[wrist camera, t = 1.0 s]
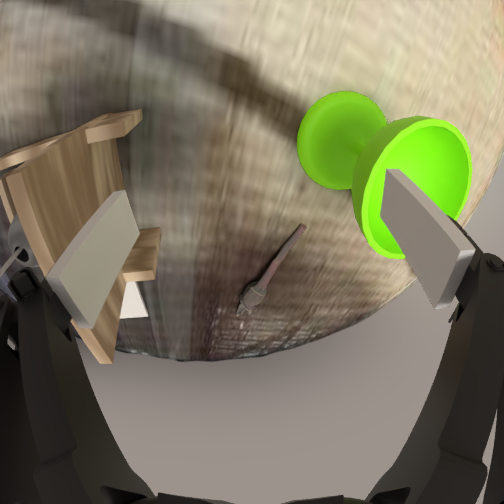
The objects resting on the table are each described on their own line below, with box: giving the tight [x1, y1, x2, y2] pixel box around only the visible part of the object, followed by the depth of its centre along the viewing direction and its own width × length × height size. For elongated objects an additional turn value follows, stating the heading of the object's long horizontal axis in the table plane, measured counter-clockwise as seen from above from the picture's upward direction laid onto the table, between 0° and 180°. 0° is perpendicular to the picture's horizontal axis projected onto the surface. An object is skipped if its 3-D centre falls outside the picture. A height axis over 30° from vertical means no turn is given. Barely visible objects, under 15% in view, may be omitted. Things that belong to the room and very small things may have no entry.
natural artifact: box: [237, 224, 306, 316], centre depth 49 cm, size 4×23×4 cm
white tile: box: [120, 281, 148, 318], centre depth 45 cm, size 14×14×1 cm
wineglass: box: [297, 91, 472, 259], centre depth 30 cm, size 16×16×18 cm
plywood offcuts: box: [0, 168, 17, 223], centre depth 31 cm, size 5×12×4 cm, turn 0°
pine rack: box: [0, 108, 161, 364], centre depth 25 cm, size 24×20×22 cm
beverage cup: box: [0, 213, 39, 277], centre depth 26 cm, size 7×7×20 cm
